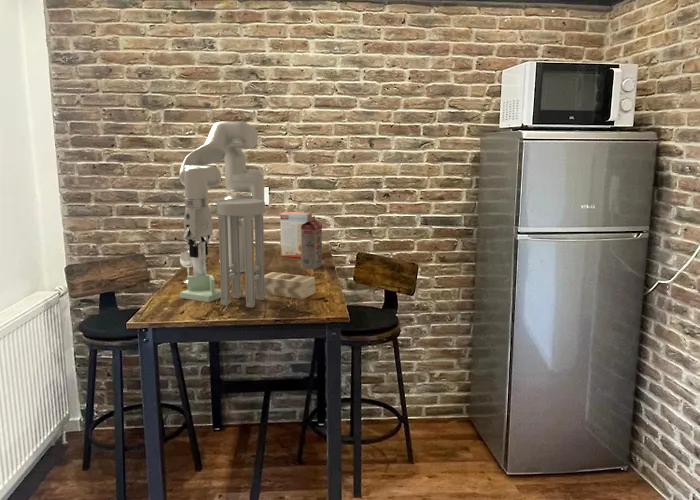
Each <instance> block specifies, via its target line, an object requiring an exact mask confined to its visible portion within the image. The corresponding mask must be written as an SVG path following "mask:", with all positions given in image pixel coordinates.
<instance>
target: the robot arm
mask: <svg viewBox="0 0 700 500" xmlns="http://www.w3.org/2000/svg"><path fill="white" fill-rule="evenodd" d="M258 140H259V133H258V130H257V129H256V127H255V126H253V125H251V124H249V123H247V122H244V121H225V120H224V121H217V122H215V123H214V124H212V126H211V128H210V130H209V133H208V135H207V137H206V140H205V142H204V144H203V145H201V146H200V147H197V148H196V149H194V150H193V151H191V152H189V153H188V154H187V155H186V156H185V158H184V160H183V162H182V164H181V166H180V168H179V173H178V179H179V182H180V184H181V185H183V186H184V195H185V196H184V197H185V198H184V199H185V202H184V204H185V209H184V219H183V227H184V228H183V232H184V234H183V236H182V240H184V241H185V243H187V245H188V248H189V250H190V257H194V258H197V257H198V246H196V245H197V241H198V238H199V241H205V249H206V256H208V255H209V248H208V247H209V246H208V245H209V242H210V241H209V240H210V238H211V236H213V231H214V229H213V228H214V227H213V218H212V217H213V216H212V212H211V207H210V206H209V195H208V194H209V193H208V188H215V187H217V186H219V184H220V182H221V180H222V173H221V171H220V169H219V168H218V167H216V166H215V165H211V164H214V163H217V162H221V161H222V160H224V180H225V183H224V184H225V188H226V190H227V191H229V192H232V193H250V194H251V195H234V194H233V195H227V196H226V197H224V198H223V199H222V200H224V199H243V198H245V199H259V200H263V201H264V202H265V179H264V175H263V173H262V171H261V170H259V169H251V168H248V169H247V164H246V163H247V160H246V159H247V158H246V154H245V153H244V151H243V150H242V149H241V148H246V149H247V148H250V149H251V148H254V147H256V145H257V144H258ZM264 214H265V213H263V215H264ZM227 218H228V249H229V266H230V265H231V234H230V216H229V215H227ZM253 220H255V215H253ZM239 242H240V274H241V273H245V244H244V216H239ZM218 264H220V260H219V261H218ZM229 274H232V270H230V271H229Z"/></svg>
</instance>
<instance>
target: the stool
mask: <svg viewBox="0 0 700 500" xmlns="http://www.w3.org/2000/svg"><path fill="white" fill-rule="evenodd" d="M223 199H224V198H223ZM223 199H220V200H218V201H216V213H217V223H218V224H217V225H218V252H219V261H220V263H219V275H220V276H219V277H220V278H219V279H220V280H219V281H220V283H219V285H220V290H221V298H220V306H226V307H228V306H229V305H231V297H232V299H240V298H241V297H242V289H241V288H242V284H241V283H242V279H241V278H242V277H241V273H240V242H239V216H244V219H243V221H244V244H245V272H244V276H245V278H244V279H245V307H246V308H254V307H255V306H256V300H257V301H264V300H265V299H266V294H265V277H264V275H265V234H264V231H265V230H264V214H265V213H266V202H265V200H264V201H263V200H259V199H245V198H243V199H224V200H223ZM263 213H264V214H263ZM227 215H229V216H230V234H231V265H230V266H229V249H228V218H227ZM253 215H255V219H253ZM254 243H255V244H254ZM230 270H232V273H229V271H230ZM230 281H231V284H230ZM230 289H231V290H230ZM231 293H232V294H231ZM255 293H256V294H255ZM231 295H232V296H231Z"/></svg>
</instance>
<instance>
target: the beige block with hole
mask: <svg viewBox="0 0 700 500" xmlns="http://www.w3.org/2000/svg"><path fill="white" fill-rule="evenodd" d="M264 277H265V295H269V296H270V295H271V296H277V297H283V296H284V297H285V298H290V297H291V299H297V300H304V299H306V298H308V297H310V296H313V295H314V294H315V293H316V278H315V276H308V275H307V276H306V275H299V274H293V273H292V274H290V273H284V272H276V271H275V272H274V271H272V272H269V273H267V274H264Z"/></svg>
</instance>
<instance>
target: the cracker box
mask: <svg viewBox="0 0 700 500" xmlns="http://www.w3.org/2000/svg"><path fill="white" fill-rule="evenodd" d="M312 213H313V212H303V211H302V212H299V211H283V212H280V256H281V257H288V258H301V225H302V224H304V223H306V222H308V218H309V217H313V214H312Z"/></svg>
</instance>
